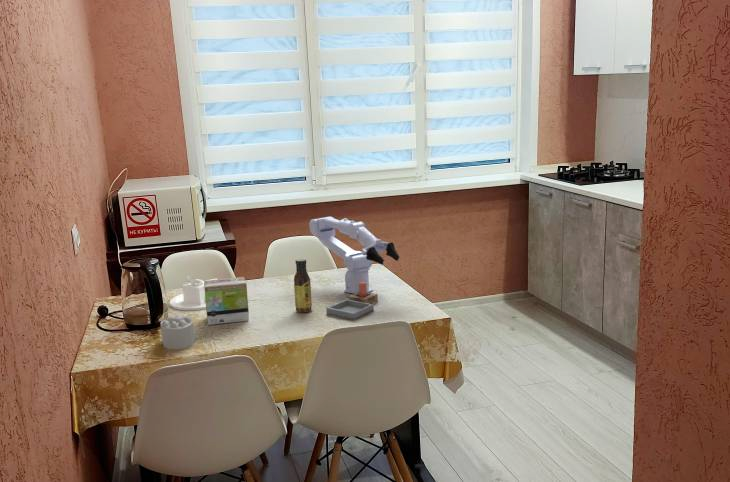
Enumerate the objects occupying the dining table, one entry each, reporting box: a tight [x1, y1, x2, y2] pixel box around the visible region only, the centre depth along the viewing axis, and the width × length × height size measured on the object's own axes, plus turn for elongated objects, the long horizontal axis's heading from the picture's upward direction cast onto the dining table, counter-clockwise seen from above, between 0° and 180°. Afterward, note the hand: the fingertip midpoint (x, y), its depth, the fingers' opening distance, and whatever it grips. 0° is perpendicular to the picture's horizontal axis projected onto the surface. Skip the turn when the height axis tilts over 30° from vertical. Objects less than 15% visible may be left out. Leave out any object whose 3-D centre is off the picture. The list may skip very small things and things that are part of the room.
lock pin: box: [359, 282, 367, 297], centre depth 255 cm, size 3×3×8 cm
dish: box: [169, 274, 218, 312], centre depth 267 cm, size 25×25×11 cm
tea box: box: [203, 276, 250, 326], centre depth 242 cm, size 15×10×15 cm
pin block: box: [348, 292, 379, 305], centre depth 255 cm, size 8×8×3 cm
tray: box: [325, 298, 375, 321], centre depth 244 cm, size 13×12×2 cm
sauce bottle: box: [293, 258, 313, 313], centre depth 247 cm, size 7×6×20 cm
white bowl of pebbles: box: [160, 314, 196, 351], centre depth 221 cm, size 10×13×9 cm
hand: (390, 260), depth 251 cm, fingers open, 7 cm apart
